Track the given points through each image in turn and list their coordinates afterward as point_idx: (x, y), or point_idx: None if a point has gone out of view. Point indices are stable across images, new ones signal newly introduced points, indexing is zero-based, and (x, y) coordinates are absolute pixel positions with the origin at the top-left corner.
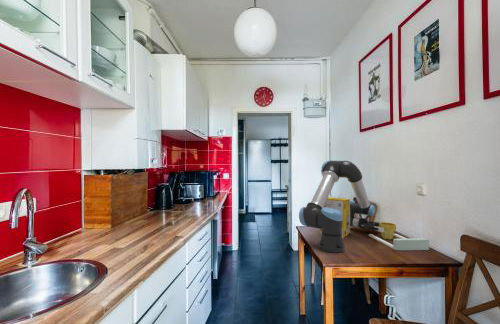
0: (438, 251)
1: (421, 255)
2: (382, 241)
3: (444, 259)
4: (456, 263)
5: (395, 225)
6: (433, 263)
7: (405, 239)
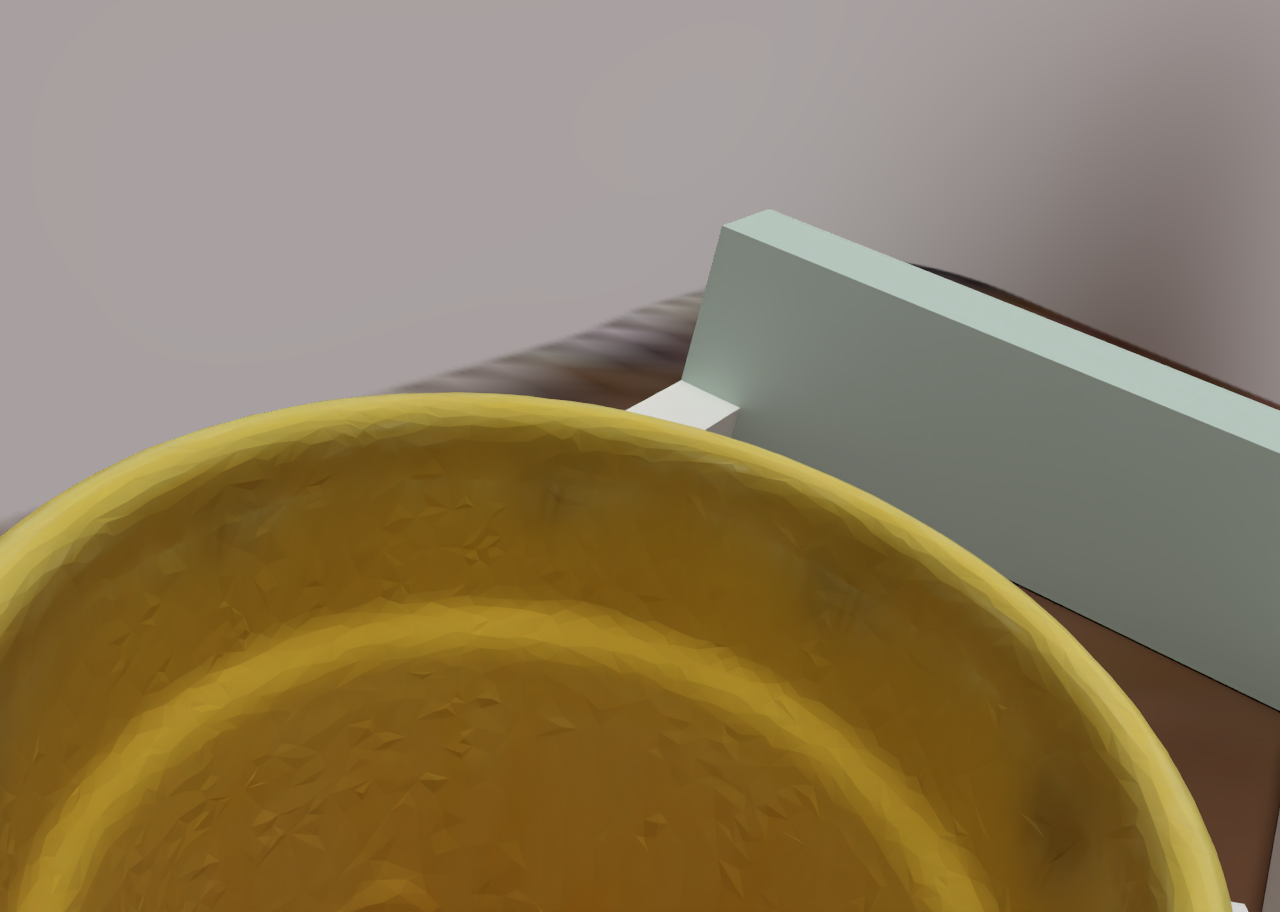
0: (669, 326)
1: None
2: None
3: None
4: (966, 277)
5: (583, 408)
6: (1229, 385)
7: (1236, 409)
